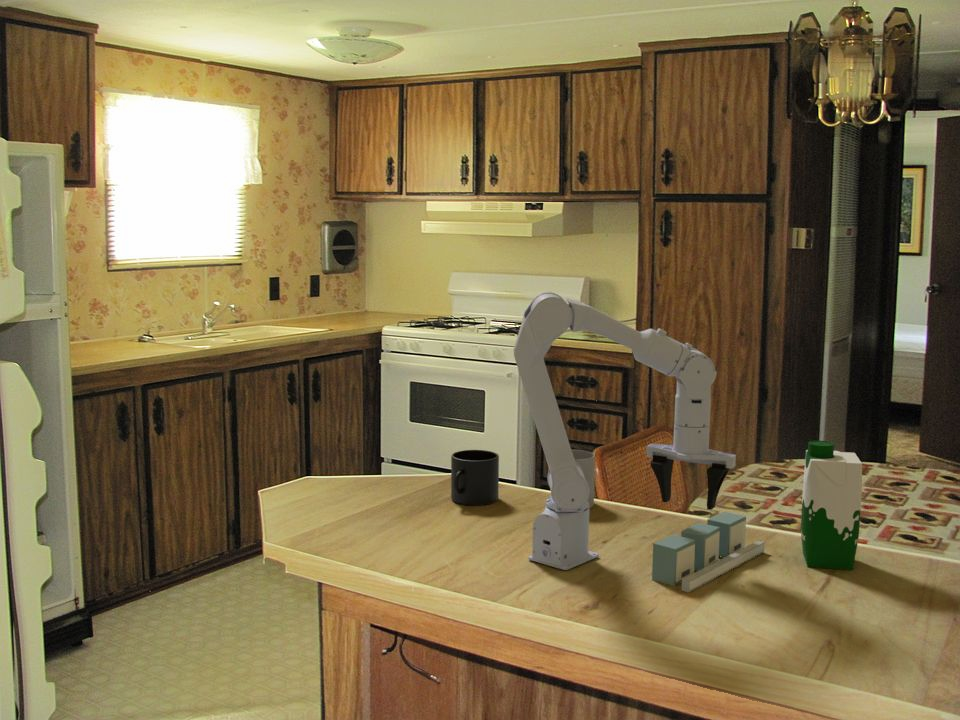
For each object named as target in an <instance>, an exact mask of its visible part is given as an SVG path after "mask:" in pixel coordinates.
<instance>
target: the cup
mask: <svg viewBox="0 0 960 720" xmlns="http://www.w3.org/2000/svg"><path fill="white" fill-rule="evenodd" d="M571 450H572V453H573V456H574V459H575V461H576V463H577V464H578V465H579V466H580V467H581V468H582V470H583V472H584V476H585V480H586V481H587V482H588V485H589V488H590V495H589V499H588V502H589V509H591V508H593V507H595V506H594V505H595V474H596V473H595V472H596V469H595V468H596V466H595V465H596V454H595V453H593V452H592V451H588V450H583V449H571Z"/></svg>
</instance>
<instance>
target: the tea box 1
mask: <svg viewBox="0 0 960 720" xmlns="http://www.w3.org/2000/svg"><path fill="white" fill-rule="evenodd" d="M652 544H653V545H652V574H651V580H652V581H654V580H655V581H656V582H658V583H662V582H663V583H662V584H665V583H667V584H666V585H669V584H670V585H669V586H672V585H673V587H675V586H677V585H679V584H681V583H682V579H684V578H686V577H688V576H690V575H692V574H693V573H695V570H694V561H695V540H693V539H689V538H685V537H681V535H677V534H671V535H669V536H666V537H665V538H662V539H660V540H658V541H655V542H653V543H652ZM680 582H681V583H680ZM678 583H679V584H678ZM676 584H677V585H676Z"/></svg>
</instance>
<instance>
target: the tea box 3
mask: <svg viewBox="0 0 960 720" xmlns="http://www.w3.org/2000/svg"><path fill="white" fill-rule="evenodd" d="M706 521H707V525H712V526H717V527H720V536H719V556H721V557H720V558H723V557H727V556H729V555H731V554H733V553H735V552H737V551H739V550H741V549H743V548H745V547H746V526H747V525H746V524H747V523H746V522H747V516H745V515H742V514H737V513H731V512H728V511H724V512H721V513H719V514H717V515H715V516H712V517H710V518H708V519H707V520H706Z"/></svg>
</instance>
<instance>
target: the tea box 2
mask: <svg viewBox="0 0 960 720" xmlns="http://www.w3.org/2000/svg"><path fill="white" fill-rule="evenodd" d="M680 536H681V537H685V538H689V539H693V540H695V561H694V569H695V570H694V571H697V570H701V569H703V568H705V567H707V566H709V565H711V564H713V563H715V562H717V561H719V560H720V557H719V536H720V527H717V526H712V525H707V524H706V523H703V522H702V523H701V522H696V523H694V524H692V525H690V526H688V527H686V528H685V529H683V530H682V531H681V532H680Z"/></svg>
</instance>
